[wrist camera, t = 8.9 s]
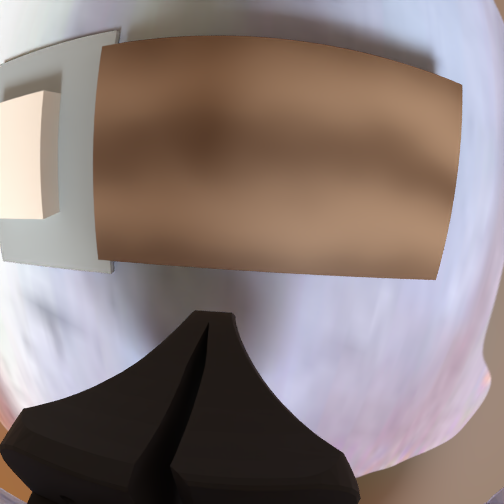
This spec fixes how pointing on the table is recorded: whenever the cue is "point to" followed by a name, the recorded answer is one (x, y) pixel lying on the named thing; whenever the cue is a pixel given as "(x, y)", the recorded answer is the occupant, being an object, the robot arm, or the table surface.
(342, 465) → the robot arm
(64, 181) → the mat
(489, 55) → the table surface
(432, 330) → the table surface
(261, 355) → the table surface
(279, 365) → the table surface
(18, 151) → the tile
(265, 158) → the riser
